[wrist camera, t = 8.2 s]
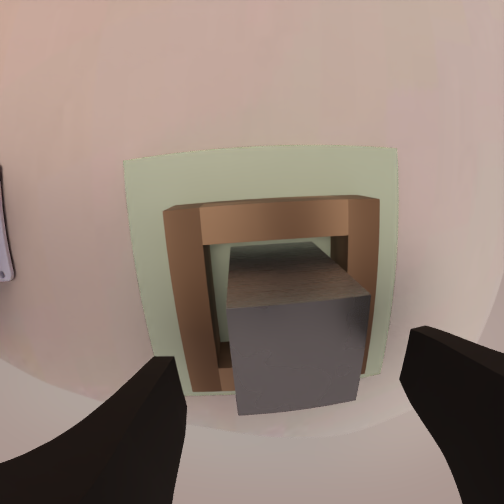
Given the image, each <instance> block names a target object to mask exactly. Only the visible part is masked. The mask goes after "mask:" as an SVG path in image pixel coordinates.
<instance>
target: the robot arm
mask: <svg viewBox="0 0 504 504" xmlns="http://www.w3.org/2000/svg"><path fill="white" fill-rule="evenodd" d="M4 274H5V275H4ZM13 278H14V271H13V267H12V262H11V258H10V253H9V247H8V242H7V236H6V230H5V223H4V215H3V206H2V196H1V183H0V281H10V280H12V279H13ZM399 380H400V382H401V384H402V386H403V389H404V391H405V393H406V395H407V397H408V399H409V401H410V403H411V405H412V406H413V408H414V409H415V411H416V413H417V414H418V416H419V417H420V419H421V420H422V422H423V423H424V425H425V426H426V428H427V429H428V431H429V432H430V434H431V435H432V437H433V438H434V440H435V442H436V443H437V445H438V446H439V448H440V449H441V451H442V453H443V455H444V457H445V459H446V461H447V463H448V465H449V467H450V470H451V472H452V475H453V477H454V480H455V482H456V485H457V488H458V491H459V493H460V497H461V500H462V503H463V504H504V353H501V352H498V351H495V350H492V349H489V348H487V347H484V346H481V345H478V344H476V343H473V342H471V341H468V340H465V339H463V338H460V337H458V336H455V335H453V334H450V333H447V332H444V331H442V330H439V329H436V328H432V327H429V326H422V327H418V328H413V329H411V330H410V335H409V340H408V345H407V349H406V354H405V358H404V362H403V366H402V371H401V374H400V378H399ZM186 415H187V405H186V401H185V397H184V394H183V390H182V386H181V382H180V378H179V374H178V370H177V365H176V361H175V357H174V356H154V357H153V358H152V359H151V360H150V361H148V362H147V363H146V364H145V365H144V366H143V367H142V368H141V369H140V370H139V371H138V372H137V373H136V374H135V375H134V376H133V377H132V378H131V379H130V380H129V381H128V382H126V383H125V384H124V385H123V386H122V387H121V388H120V389H119V390H118V391H117V392H116V393H115V394H114V395H112V396H111V397H110V398H109V399H108V400H107V401H105V402H104V403H103V404H102V405H100V406H99V407H98V408H97V409H96V410H94V411H93V412H92V413H91V414H90V415H88V416H87V417H86V418H85V419H83V420H82V421H80V422H79V423H78V424H76V425H75V426H73V427H72V428H70V429H69V430H67V431H66V432H64V433H63V434H61V435H59V436H58V437H56V438H55V439H53V440H51V441H50V442H47V443H45V444H44V445H42V446H39V447H37V448H36V449H33V450H32V451H30V452H28V453H25V454H23V455H21V456H18V457H16V458H14V459H11V460H8V461H5V462H2V463H0V504H172V500H173V493H174V487H175V483H176V478H177V472H178V468H179V463H180V458H181V453H182V448H183V443H184V438H185V430H186Z"/></svg>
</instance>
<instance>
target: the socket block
mask: <svg viewBox="0 0 504 504" xmlns="http://www.w3.org/2000/svg"><path fill="white" fill-rule="evenodd" d="M123 166H124V180H125V191H126V202H127V211H128V220H129V228H130V236H131V243H132V250H133V256H134V262H135V268H136V274H137V280H138V285H139V291H140V296H141V301H142V306H143V310H144V315H145V320H146V324H147V328H148V333H149V337H150V341H151V345H152V349H153V353H154V356H174V357H175V361H176V365H177V370H178V374H179V378H180V382H181V386H182V390H183V394H184V396H206V395H233V394H236V393H235V385H234V377H233V369H232V360H231V351H230V342H229V333H228V324H227V314H226V301H227V287H228V273H229V260H230V248H231V247H233V246H248V245H263V244H278V243H293V242H309V241H312V242H313V243H314V244H315V245H316V246H318V247H319V248H320V249H321V250H322V251H323V252H324V253H326V254H327V255H328V256H329V257H330V258H331V259H332V260H333V261H335V262H336V263H337V264H338V265H339V266H340V267H341V268H342V269H344V270H345V271H346V272H347V273H348V274H349V275H350V276H351V277H352V278H353V279H355V280H356V281H357V282H358V283H359V284H360V285H361V286H362V287H363V288H364V289H365V290H366V291H368V292H369V293H370V294H371V302H370V312H369V320H368V329H367V336H366V343H365V350H364V357H363V363H362V369H361V375H360V378H364V377H368V376H373V375H377V374H380V372H381V367H382V363H383V357H384V352H385V347H386V341H387V335H388V329H389V322H390V315H391V308H392V300H393V291H394V281H395V270H396V257H397V240H398V203H399V195H398V159H397V148H386V147H369V146H346V145H277V146H253V147H236V148H222V149H211V150H200V151H190V152H181V153H173V154H165V155H158V156H151V157H144V158H137V159H131V160H125V161H123Z"/></svg>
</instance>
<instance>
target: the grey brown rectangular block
mask: <svg viewBox="0 0 504 504" xmlns="http://www.w3.org/2000/svg"><path fill="white" fill-rule="evenodd" d="M370 302H371V294H370V293H369V292H368V291H366V290H365V289H364V288H363V287H362V286H361V285H360V284H359V283H358V282H357V281H356V280H355V279H353V278H352V277H351V276H350V275H349V274H348V273H347V272H346V271H345V270H344V269H342V268H341V267H340V266H339V265H338V264H337V263H336V262H335V261H333V260H332V259H331V258H330V257H329V256H328V255H327V254H326V253H324V252H323V251H322V250H321V249H320V248H319V247H318V246H316V245H315V244H314V243H313V242H312V241H309V242H293V243H278V244H263V245H248V246H233V247H231V248H230V260H229V273H228V287H227V301H226V314H227V324H228V333H229V342H230V351H231V360H232V369H233V377H234V385H235V393H236V401H237V409H238V415H254V414H266V413H276V412H286V411H294V410H301V409H308V408H315V407H321V406H327V405H333V404H338V403H343V402H349V401H353V400H356V396H357V391H358V386H359V380H360V375H361V369H362V363H363V357H364V350H365V343H366V336H367V329H368V320H369V312H370Z"/></svg>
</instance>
